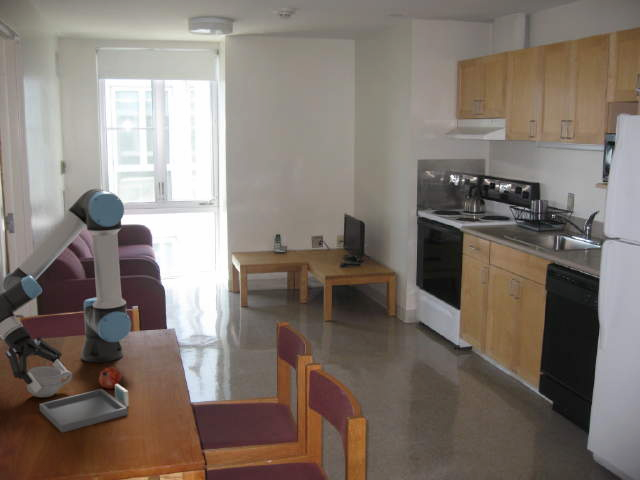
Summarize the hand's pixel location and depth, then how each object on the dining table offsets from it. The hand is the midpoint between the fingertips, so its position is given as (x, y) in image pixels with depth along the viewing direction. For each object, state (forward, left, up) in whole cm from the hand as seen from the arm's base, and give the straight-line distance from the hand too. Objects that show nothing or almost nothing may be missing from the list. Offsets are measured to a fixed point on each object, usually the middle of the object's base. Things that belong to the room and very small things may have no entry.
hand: (53, 383), depth 226 cm
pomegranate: (-18, +4, -5) cm, 19 cm away
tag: (-15, +19, -4) cm, 25 cm away
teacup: (+1, -2, -4) cm, 5 cm away
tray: (-3, +19, -4) cm, 20 cm away
